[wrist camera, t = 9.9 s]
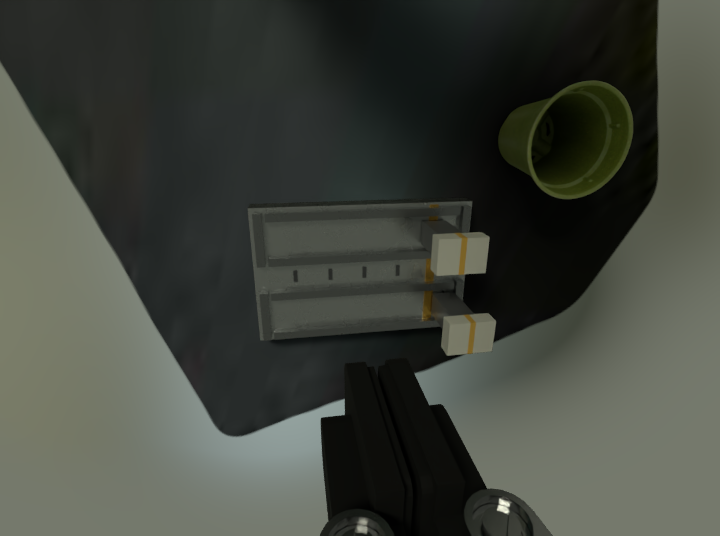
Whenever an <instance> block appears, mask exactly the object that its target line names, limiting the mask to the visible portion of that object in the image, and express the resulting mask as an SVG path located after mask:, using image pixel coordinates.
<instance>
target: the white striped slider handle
mask: <svg viewBox="0 0 720 536" xmlns="http://www.w3.org/2000/svg"><path fill="white" fill-rule="evenodd" d="M489 239H490V237H489V236H487V235H485V234H484V233H482V232H472V233H463V232H462V231H460V230H459V229H457V228H456V227H454V226H453V225H452V224H450V223H449V222H447V221H446V220H443V221H423V222H422V239H421V245H422V246H423V247H424V248H425V249H426V250H427V251H428V252H430V253H431V268H430V269H431V270H432V272H433V273H434V274H435V275H436V276H444V275H464V274H477V273H485V272H486V264H487V256H488V247H489Z"/></svg>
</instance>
